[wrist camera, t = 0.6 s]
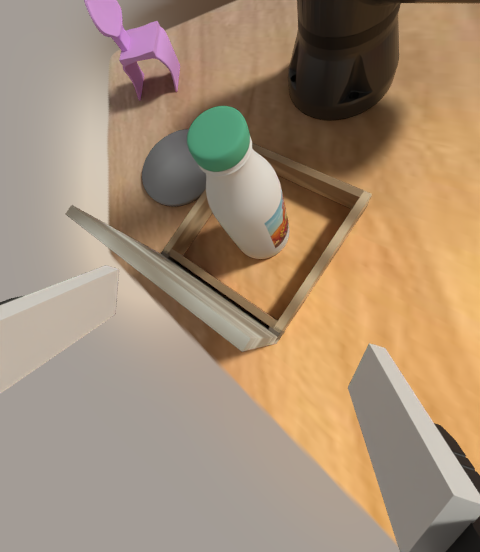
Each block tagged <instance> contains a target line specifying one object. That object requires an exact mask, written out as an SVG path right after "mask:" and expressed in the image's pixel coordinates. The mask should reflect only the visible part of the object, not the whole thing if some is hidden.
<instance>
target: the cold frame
mask: <svg viewBox="0 0 480 552" xmlns="http://www.w3.org/2000/svg"><path fill="white" fill-rule="evenodd" d="M252 149H253V150H254V151H255V152H256V153H258V154H259V155H261V156H262V157H263V158H265V159H266V160H267V161H268V162H269V164H270V165H271V166H272V168H273V169H274V171H275V172H276V174H277V175H278V176H281V177H283V178H285V179H287V180H289V181H292V182H294V183H296V184H298V185H300V186H302V187H305V188H307V189H309V190H311V191H313V192H315V193H318V194H320V195H322V196H324V197H326V198H329V199H331V200H333V201H335V202H337V203H339V204H342V205H344V206H346V207H348V208H350V209H352V210H351V211H350V213H349V214H348V216H347V218H346V219H345V221H344V222H343V224H342V225H341V227H340V228H339V230H338V231H337V233H336V234H335V236H334V237H333V239H332V240H331V242H330V243H329V245H328V246H327V248H326V249H325V251H324V252H323V254H322V255H321V257H320V258H319V260H318V261H317V263H316V264H315V266H314V267H313V269H312V270H311V272H310V273H309V275H308V276H307V278H306V279H305V281H304V282H303V284H302V285H301V287H300V288H299V290H298V291H297V293H296V294H295V296H294V298H293V299H292V301H291V302H290V304H289V305H288V307H287V308H286V310H285V311H284V313H283V314H282V316H281V317H280V319H279V320H276V319H275V318H273V317H272V316H270V315H269V314H267V313H266V312H264V311H263V310H261V309H260V308H259V307H257V306H256V305H254V304H253V303H251V302H250V301H248V300H247V299H245V298H244V297H243V296H241V295H240V294H238V293H237V292H235V291H234V290H232V289H231V288H229V287H228V286H226V285H225V284H224V283H222V282H221V281H219V280H218V279H216V278H215V277H213V276H212V275H210V274H209V273H208V272H206V271H205V270H203V269H202V268H200V267H199V266H197V265H196V264H194V263H193V262H192V261H190V260H189V259H187V258H186V257H184V256H183V255H184V253H185V252H186V251H187V249H188V248H189V246H190V245H191V243H192V242H193V240H194V239H195V237H196V236H197V235H198V233H199V232H200V230H201V229H202V227H203V226H204V224H205V223H206V221H207V220H208V219H209V217H210V216H211V214H212V213H213V212H212V210H211V208H210V206H209V203H208V200H207V194H206V189H205V190H204V192H203V193H202V195H201V196H200V198H199V199H198V200H197V202H196V203H195V205H194V206H193V208H192V209H191V211H190V212H189V213H188V215H187V216H186V218H185V219H184V221H183V222H182V224H181V225H180V226H179V228H178V229H177V231H176V232H175V234H174V235H173V237H172V238H171V239H170V241H169V242H168V244H167V245H166V247H165V248H164V250H163V251H162V252H161V254H160V253H158V252H157V251H155V250H153V249H151V248H149V247H147V246H146V245H144V244H142V243H140V242H138V241H137V240H135V239H133V238H131V237H129V236H127V235H126V234H124V233H122V232H120V231H118V230H116V229H115V228H113V227H111V226H109V225H107V224H105V223H103V222H102V221H100V220H98V219H96V218H94V217H93V216H91V215H89V214H87V213H85V212H84V211H82V210H80V209H78V208H76V207H74V206H73V205H72V206H71V207H70V208H69V210H68V211H67V213H66V215H67V216H68V217H70V218H71V219H72V220H74V221H75V222H76V223H77V224H79V225H80V226H81V227H82V228H84V229H85V230H86V231H88V232H89V233H90V234H91V235H93V236H94V237H95V238H97V239H98V240H99V241H101V242H102V243H103V244H104V245H106V246H107V247H108V248H109V249H111V250H112V251H113V252H115V253H116V254H117V255H118V256H120V257H121V258H122V259H124V260H125V261H126V262H127V263H129V264H130V265H131V266H133V267H134V268H135V269H136V270H138V271H139V272H140V273H142V274H143V275H144V276H145V277H147V278H148V279H149V280H151V281H152V282H153V283H154V284H156V285H157V286H158V287H160V288H161V289H162V290H163V291H165V292H166V293H167V294H169V295H170V296H171V297H172V298H174V299H175V300H176V301H178V302H179V303H180V304H181V305H183V306H184V307H185V308H186V309H188V310H189V311H190V312H192V313H193V314H194V315H195V316H197V317H198V318H199V319H201V320H202V321H203V322H204V323H206V324H207V325H208V326H210V327H211V328H212V329H213V330H215V331H216V332H217V333H219V334H220V335H221V336H222V337H224V338H225V339H226V340H228V341H229V342H230V343H231V344H233V345H234V346H235V347H237V348H238V349H239V350H240V351H242V352H243V351H247V350H251V349H255V348H259V347H264V346H268V345H272V344H276V343H277V342H278V341H279V339H280V337H281V336H282V334H283V333H284V331H285V330H286V328H287V327H288V325H289V324H290V322H291V321H292V319H293V318H294V316H295V315H296V313H297V312H298V310H299V309H300V307H301V306H302V304H303V303H304V301H305V300H306V298H307V297H308V295H309V294H310V292H311V291H312V289H313V287H314V286H315V284H316V283H317V281H318V280H319V278H320V277H321V275H322V274H323V272H324V271H325V269H326V268H327V266H328V265H329V263H330V262H331V260H332V259H333V257H334V256H335V254H336V253H337V251H338V250H339V248H340V247H341V245H342V244H343V242H344V241H345V239H346V237H347V236H348V234H349V233H350V231H351V230H352V228H353V227H354V225H355V224H356V222H357V221H358V219H359V218H360V216H361V215H362V213H363V212H364V210H365V209H366V207H367V205H368V202H369V200H370V198H371V196H372V194H371V193H369V192H366V191H364V190H362V189H359V188H357V187H355V186H352V185H350V184H348V183H345V182H343V181H340V180H338V179H336V178H333V177H331V176H329V175H326V174H324V173H322V172H319V171H317V170H315V169H312V168H310V167H308V166H305V165H303V164H300V163H298V162H296V161H293V160H291V159H289V158H286V157H284V156H282V155H279V154H277V153H275V152H272V151H270V150H268V149H265V148H263V147H261V146H258V145H256V144H253V143H252ZM180 263H181V264H182V265H183V266H185V267H186V268H188V269H189V270H191V271H192V272H193V273H195V274H196V275H198V276H199V277H201V278H202V279H203V280H205V281H206V282H208V283H209V284H211V285H212V286H213V287H215V288H216V289H218V290H219V291H220V292H222V293H223V294H225V295H226V296H228V297H229V298H230V299H232V300H233V301H235V302H236V303H238V304H239V305H240V306H242V307H243V308H245V309H246V310H247V311H249V312H250V313H252V314H253V315H255V316H256V317H257V318H259V319H260V320H262V321H263V322H265V323H266V324H267V325H269V326H270V328H268V327H266V326H265V325H263V324H262V323H261V322H259V321H258V320H256V319H255V318H254V317H252V316H251V315H249V314H248V313H246V312H245V311H244V310H242V309H241V308H239V307H238V306H237V305H235V304H234V303H232V302H231V301H230V300H228V299H227V298H225V297H224V296H222V295H221V294H220V293H218V292H217V291H215V290H214V289H213V288H211V287H210V286H208V285H207V284H206V283H204V282H203V281H201V280H200V279H198V278H197V277H196V276H194V275H193V274H191V273H190V272H189V271H187V270H186V269H184V268H183V267H181V266H180Z"/></svg>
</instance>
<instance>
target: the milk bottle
mask: <svg viewBox="0 0 480 552" xmlns="http://www.w3.org/2000/svg"><path fill="white" fill-rule="evenodd" d="M187 145H188V149H189V151H190V153H191V155H192V157H193V158H194V160H195V161H196V162H197V164H198V165H199V167H200V169H201V170H202V171H203V172H205V173H206V194H207V200H208V203H209V206H210V208H211V210H212V212H213V214H214V216H215V217H216V219H217V220H218V222H219V223H220V224H221V226H222V227H223V228H224V230H225V231H226V232H227V234H228V235H229V236H230V237H231V239H232V240H233V241H234V242H235V244H236V245H237V246H238V247H239V248H240V250H241V251H242V252H243V253H245V254H246V255H247V256H249V257H252V258H255V259H266V258H270V257H272V256H274V255H276V254H278V253H279V252H280V251H281V250H282V249H283V248H284V247H285V245H286V243H287V241H288V238H289V223H288V218H287V213H286V207H285V203H284V198H283V193H282V189H281V185H280V182H279V179H278V177H277V174H276V172H275V171H274V169H273V168H272V166H271V165H270V164H269V162H268V161H267V160H266V159H265V158H263V157H262V156H261V155H259V154H258V153H256V152H255V151H254V150H253V149H252V140H251V137H250V134H249V130H248V126H247V123H246V121H245V119H244V117H243V115H242V114H241V113H240V112H239V111H238V110H236V109H235V108H232V107H229V106H217V107H213V108H211V109H208V110H206V111H204V112H203V113H202V114H200V115H199V116H198V117H197V118H196V119H195V120H194V121H193V123H192V124H191V126H190V128H189V131H188V134H187Z"/></svg>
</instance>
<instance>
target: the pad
mask: <svg viewBox="0 0 480 552" xmlns="http://www.w3.org/2000/svg"><path fill="white" fill-rule="evenodd" d="M188 131H189V129H185V130H179V131H176V132H174V133H171V134H169V135H168V136H166V137H164V138H163V139H161V140H160V141H159V142H158V143H157V144H156V145H155V146H154V147H153V148H152V150H151V151H150V153H149V154H148V156H147V158H146V160H145V163H144V166H143V171H142V180H143V185H144V188H145V190H146V192H147V193H148V194H149V195H150V196H151V197H152V198H153V199H154V200H155V201H157V202H158V203H160V204H162V205H166V206H182V205H186V204H189V203H191V202H193V201H195V200H197V199H198V198H200V196H201V195H202V193H203V192H204V190H205V189H206V173H205V172H203V171H202V170H201V169H200V167H199V165H198V164H197V162H196V161H195V160H194V158H193V157H192V155H191V153H190V151H189V149H188V145H187V134H188Z"/></svg>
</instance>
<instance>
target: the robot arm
mask: <svg viewBox="0 0 480 552" xmlns="http://www.w3.org/2000/svg"><path fill="white" fill-rule="evenodd" d="M401 3H480V0H297V11H298V33H297V37H296V41H295V45H294V49H293V54H292V58H291V62H290V66H289V73H288V81H289V92H290V97H291V99H292V101H293V103H294V104H295V106H296V107H297V108H298V109H299V110H300V111H302V112H303V113H305V114H306V115H309V116H311V117H314V118H318V119H324V120H337V119H344V118H348V117H351V116H354V115H357V114H359V113H362V112H364V111H365V110H367V109H369V108H370V107H372V106H373V105H375V104H376V103H377V102H378V101H379V100H380V99H381V98H382V97H383V96H384V95H385V94H386V92H387V91H388V89H389V88H390V86H391V84H392V81H393V78H394V75H395V72H396V69H397V66H398V60H399V31H398V11H399V8H400V4H401ZM118 277H119V269H117V268H114V267H111V266H107V265H105V266H102V267H100V268H97V269H95V270H92V271H89V272H87V273H84V274H81V275H79V276H76V277H73V278H71V279H68V280H65V281H63V282H60V283H58V284H55V285H52V286H50V287H47V288H44V289H42V290H39V291H36V292H34V293H31V294H29V295H26V296H21V297H16V298H11V299H9V300H6V301H3V302H0V393H2V392H3V391H5V390H6V389H8V388H9V387H11V386H12V385H13V384H15V383H16V382H18V381H19V380H21V379H22V378H24V377H25V376H27V375H28V374H29V373H31V372H32V371H34V370H35V369H37V368H38V367H40V366H41V365H43V364H44V363H45V362H47V361H48V360H50V359H51V358H53V357H54V356H55V355H57V354H58V353H60V352H61V351H63V350H64V349H66V348H67V347H69V346H70V345H72V344H73V343H74V342H76V341H77V340H79V339H80V338H82V337H83V336H85V335H86V334H88V333H89V332H91V331H92V330H93V329H95V328H96V327H98V326H99V325H101V324H102V323H104V322H105V321H107V320H108V319H109V318H111V317H112V316H114V315H115V314H116V313H115V312H116V302H117V289H118ZM348 390H349V393H350V396H351V399H352V402H353V405H354V409H355V412H356V415H357V418H358V421H359V424H360V427H361V431H362V434H363V437H364V440H365V443H366V446H367V449H368V453H369V456H370V459H371V462H372V465H373V468H374V472H375V475H376V478H377V481H378V484H379V487H380V490H381V494H382V497H383V500H384V503H385V506H386V509H387V512H388V516H389V519H390V522H391V525H392V528H393V531H394V534H395V538H396V541H397V544H398V547H399V550H400V552H480V475H479V474H478V473H477V472H476V471H475V470H474V469H475V468H474V467H473V465H472V464H471V462H470V461H469V459H468V458H466V457H465V456H466V455H465V454H464V452H463V451H462V449H461V448H460V446H459V445H458V444H457V442H456V441H455V439H454V438H453V437H452V436H451V435H450V434H449V433H448V432H447V431H446V430H445V429H444V428H443V427H442V426H441V425H438V424H435V423H433V421H432V420H431V418H430V417H429V415H428V414H427V412H426V410H425V409H424V407H423V406H422V404H421V403H420V401H419V400H418V398H417V397H416V395H415V393H414V392H413V390H412V389H411V387H410V386H409V384H408V383H407V381H406V380H405V378H404V376H403V375H402V373H401V372H400V370H399V369H398V367H397V366H396V364H395V362H394V361H393V359H392V358H391V356H390V355H389V353H388V352H387V350H386V349H385V348H383V347H380V346H377V345H373V344H370V343H369V344H368V347H367V349H366V351H365V353H364V355H363V357H362V359H361V361H360V363H359V365H358V367H357V370H356V372H355V374H354V376H353V378H352V380H351V382H350V384H349V386H348Z"/></svg>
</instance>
